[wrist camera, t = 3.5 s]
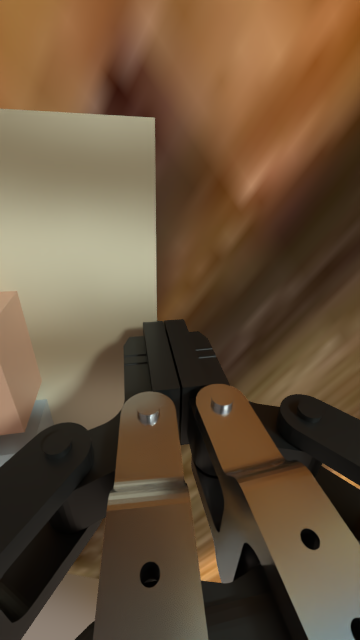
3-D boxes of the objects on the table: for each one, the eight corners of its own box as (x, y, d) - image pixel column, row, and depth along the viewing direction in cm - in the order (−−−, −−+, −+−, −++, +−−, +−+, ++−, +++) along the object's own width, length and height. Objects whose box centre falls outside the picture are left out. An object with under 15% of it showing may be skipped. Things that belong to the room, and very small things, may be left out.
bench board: (-151, 110, 9) (-259, 93, 6) (146, 126, 10) (154, 117, 8) (-11, 427, 16) (-35, 478, 14) (152, 408, 18) (158, 451, 15)
